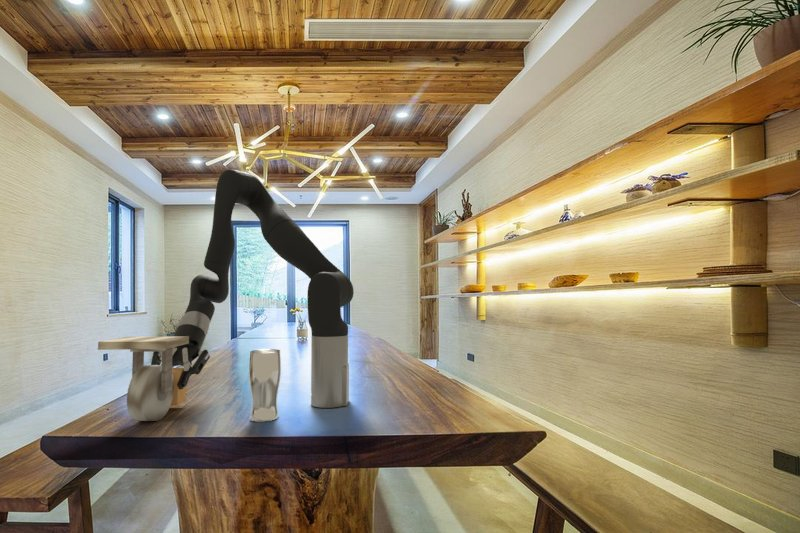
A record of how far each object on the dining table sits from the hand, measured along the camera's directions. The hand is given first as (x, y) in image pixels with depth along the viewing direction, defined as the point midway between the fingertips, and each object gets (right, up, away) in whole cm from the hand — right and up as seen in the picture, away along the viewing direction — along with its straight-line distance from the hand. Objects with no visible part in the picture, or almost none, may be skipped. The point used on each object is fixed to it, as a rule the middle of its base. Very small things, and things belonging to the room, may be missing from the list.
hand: (168, 387), depth 105 cm
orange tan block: (0, -4, +2) cm, 5 cm away
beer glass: (+25, -5, -7) cm, 27 cm away
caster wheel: (0, -5, -8) cm, 9 cm away
